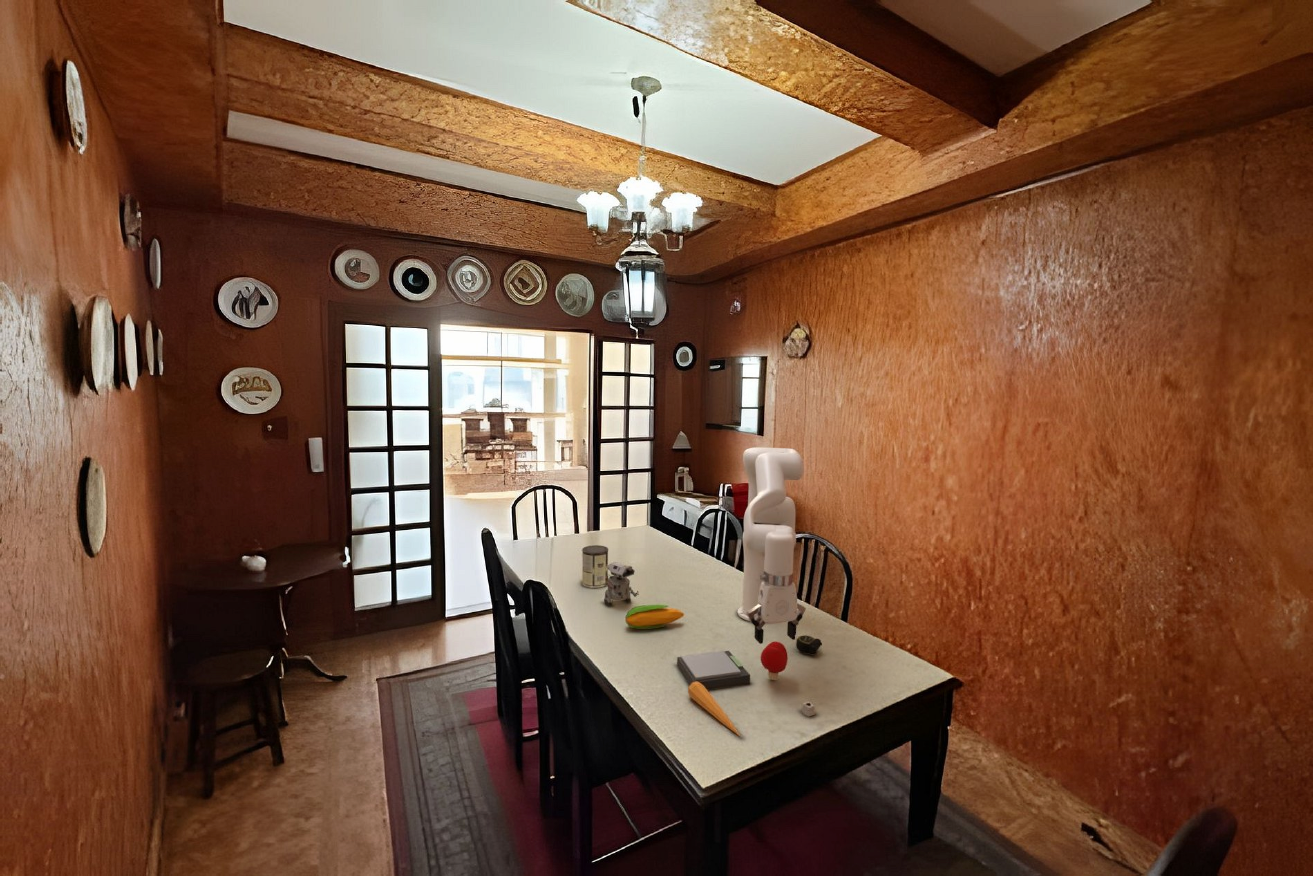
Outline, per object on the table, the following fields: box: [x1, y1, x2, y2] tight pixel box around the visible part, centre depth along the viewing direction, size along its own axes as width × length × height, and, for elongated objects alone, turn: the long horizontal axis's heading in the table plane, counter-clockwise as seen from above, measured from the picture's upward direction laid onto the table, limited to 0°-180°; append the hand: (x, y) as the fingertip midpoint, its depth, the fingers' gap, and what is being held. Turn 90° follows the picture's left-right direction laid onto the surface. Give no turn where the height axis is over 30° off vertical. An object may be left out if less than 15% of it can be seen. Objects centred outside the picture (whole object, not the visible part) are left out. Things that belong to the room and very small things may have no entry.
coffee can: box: [581, 544, 609, 589], centre depth 221 cm, size 10×10×14 cm
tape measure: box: [795, 634, 823, 656], centre depth 169 cm, size 7×7×4 cm
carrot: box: [687, 681, 742, 738], centre depth 135 cm, size 20×4×4 cm, turn 31°
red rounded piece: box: [760, 641, 789, 682], centre depth 152 cm, size 9×7×10 cm
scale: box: [676, 650, 751, 691], centre depth 154 cm, size 16×14×3 cm
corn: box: [625, 604, 685, 630], centre depth 183 cm, size 7×8×20 cm
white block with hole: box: [801, 701, 816, 718], centre depth 137 cm, size 2×2×2 cm
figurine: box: [603, 561, 640, 607], centre depth 200 cm, size 9×12×15 cm
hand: (775, 639), depth 151 cm, fingers open, 9 cm apart
